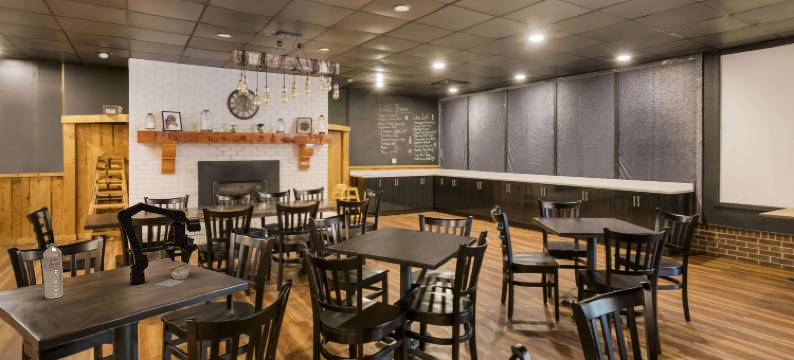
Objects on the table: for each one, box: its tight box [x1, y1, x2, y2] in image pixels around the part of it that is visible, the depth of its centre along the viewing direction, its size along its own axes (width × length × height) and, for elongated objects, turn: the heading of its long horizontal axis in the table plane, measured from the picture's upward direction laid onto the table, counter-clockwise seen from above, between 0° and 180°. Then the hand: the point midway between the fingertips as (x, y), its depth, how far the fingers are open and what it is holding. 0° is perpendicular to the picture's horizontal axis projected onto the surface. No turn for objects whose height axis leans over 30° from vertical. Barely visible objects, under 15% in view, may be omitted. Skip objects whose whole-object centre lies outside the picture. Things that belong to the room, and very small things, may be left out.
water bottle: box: [42, 242, 64, 300], centre depth 209 cm, size 7×7×25 cm
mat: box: [154, 278, 185, 287], centre depth 231 cm, size 10×10×1 cm
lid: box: [169, 263, 191, 272], centre depth 241 cm, size 6×8×2 cm
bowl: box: [170, 269, 190, 280], centre depth 242 cm, size 8×8×5 cm
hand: (180, 262), depth 241 cm, fingers open, 9 cm apart
